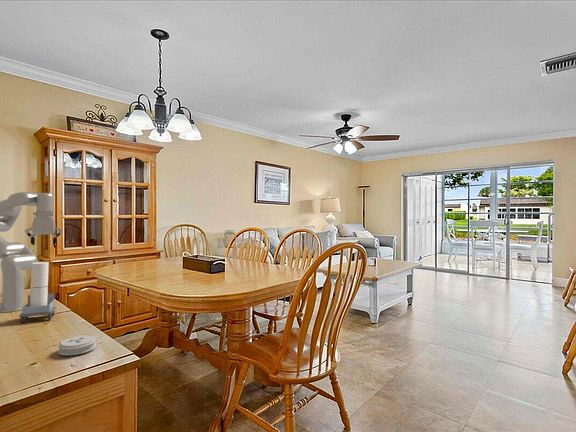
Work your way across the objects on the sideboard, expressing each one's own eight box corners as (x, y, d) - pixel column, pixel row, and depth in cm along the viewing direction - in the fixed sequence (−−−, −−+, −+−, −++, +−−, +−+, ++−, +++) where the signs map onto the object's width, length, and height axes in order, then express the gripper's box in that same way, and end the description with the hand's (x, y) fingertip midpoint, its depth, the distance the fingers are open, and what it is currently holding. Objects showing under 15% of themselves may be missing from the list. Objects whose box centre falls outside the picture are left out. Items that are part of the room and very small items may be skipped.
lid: (99, 343, 135) (99, 331, 135) (91, 355, 123) (91, 342, 123) (64, 347, 131) (65, 334, 131) (52, 359, 119) (53, 346, 119)
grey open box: (25, 317, 168) (26, 295, 169) (55, 314, 174) (56, 292, 175) (19, 323, 158) (19, 300, 158) (51, 320, 164) (51, 297, 164)
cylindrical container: (39, 312, 163) (41, 263, 163) (26, 312, 163) (27, 263, 163) (50, 308, 170) (52, 262, 170) (37, 308, 170) (39, 261, 171)
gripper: (23, 214, 173) (22, 245, 173) (62, 214, 181) (61, 244, 181) (27, 214, 180) (26, 244, 179) (64, 215, 188) (63, 243, 188)
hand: (43, 244), depth 180 cm, fingers open, 9 cm apart
